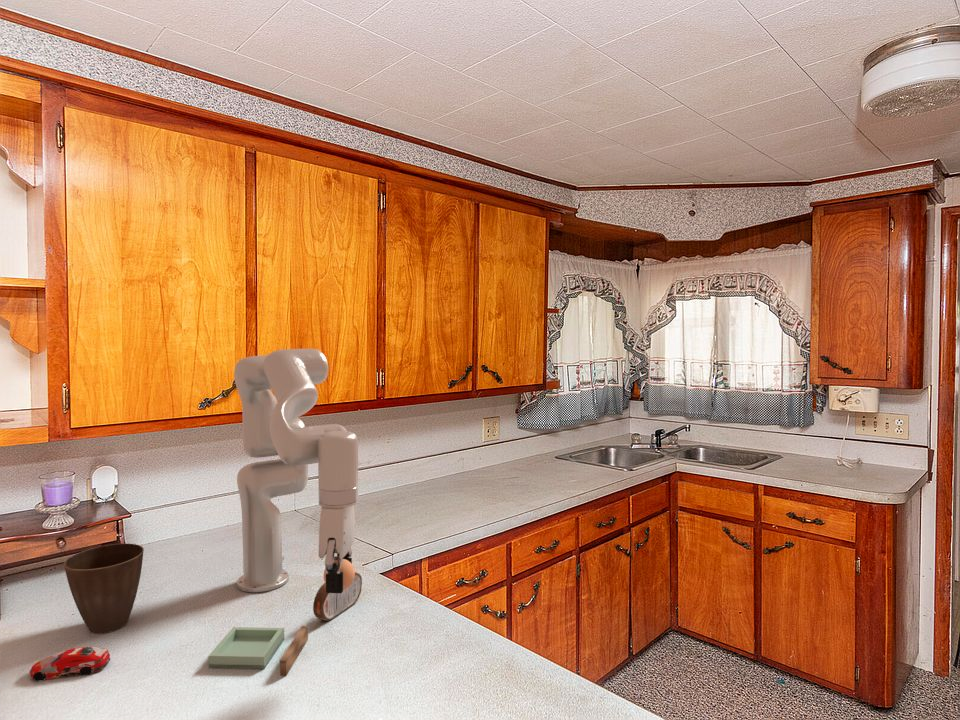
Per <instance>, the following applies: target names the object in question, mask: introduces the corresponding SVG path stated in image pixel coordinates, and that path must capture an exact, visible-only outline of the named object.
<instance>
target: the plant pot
mask: <svg viewBox="0 0 960 720" xmlns="http://www.w3.org/2000/svg"><path fill="white" fill-rule="evenodd" d="M144 549H145V548H144V547H143V546H142V545H139V544H136V543H114V544H113V543H112V544H106V545H100V546H96V547H92V548H89V549H85V550H83V551H80V552H78V553H75V554H72V555H70V557H68V558H67V559H66V560H65V561H64V563H63V566H64V571H65V575H66V579H67V583H68V586H69V589H70V592H71V595H72V599H73V601H74V603H75V606H76V608H77V610H78V612H79V614H80V617H81V618H82V621H83V622H84V625H85V626H86V628H87V629H88V631H89V632H90V633H92V634H96V635H97V634H99V635H100V634H106V633H107V634H108V633H111V632H114V631H117V630H119V629H121V628H123V627H125V626H126V625H127V623H128V622H129V619H130V616H131V614H132V610H133V608H134V605H135V600H136V598H137V593H138V589H139V585H140V579H141V575H142V566H143V559H144Z"/></svg>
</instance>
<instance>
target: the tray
mask: <svg viewBox="0 0 960 720" xmlns="http://www.w3.org/2000/svg"><path fill="white" fill-rule="evenodd" d="M284 641H285V627H256V626H255V627H252V626H251V627H250V626H248V627H247V626H246V627H244V626H243V627H241V626H237V627H236V626H233V627H232V628H231V629H230V630H229V632H228V633H227V634H226V635H225V636H224V637H223V639H221V641H220V642H219V643H218V644H217V645H216V646H215V648H214V649H213V650H212V651H211V652H210V654H209V655H208V660H207V661H208V669H227V670H229V669H231V670H234V669H235V670H238V669H239V670H240V669H241V670H265V669H266V667H267V666H268V664H269V663H270V661H271V660H272V659H273V657H274V655H275V654H276V652H278V650H279V648H280V647H281V645H282V644H283V642H284Z"/></svg>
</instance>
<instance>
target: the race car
mask: <svg viewBox="0 0 960 720" xmlns="http://www.w3.org/2000/svg"><path fill="white" fill-rule="evenodd" d="M110 660H111V654H110V653H109V650H108V649H107V648H103V647H97V646H96V647H95V646H93V647H92V646H81V647H80V646H79V647H73V648H70V649H67V650H65V651H64V652H61V653H59V654H56V655H51V656H50V655H49V656H48V657H44V658H43V659H40V660H38V661H37V662H35V663H34V664H32V666H31V668H30V670H29V674H30V675H29V676H30V679H32V680H34V681H35V682H39V681H42V682H43V681H45V680H51V679H58V678H59V679H60V678H68V677H73V676H80V675H81V676H89V675H91V674H94V673H97V672H100V671H102V670H103V669H104V668H106V667H107V665H108V664H109V663H110Z"/></svg>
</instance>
